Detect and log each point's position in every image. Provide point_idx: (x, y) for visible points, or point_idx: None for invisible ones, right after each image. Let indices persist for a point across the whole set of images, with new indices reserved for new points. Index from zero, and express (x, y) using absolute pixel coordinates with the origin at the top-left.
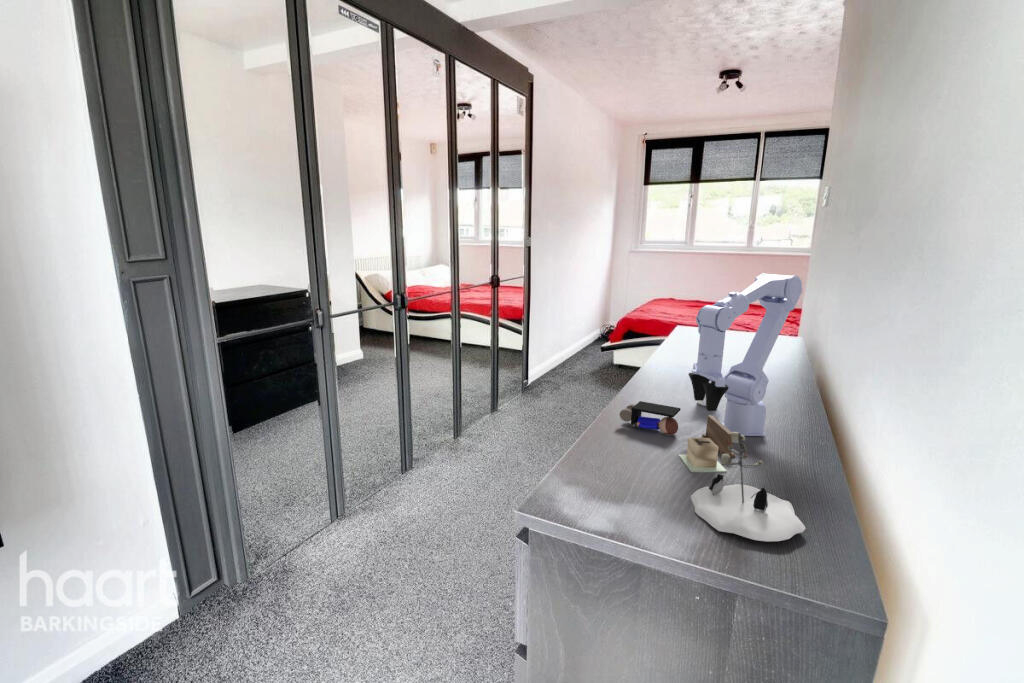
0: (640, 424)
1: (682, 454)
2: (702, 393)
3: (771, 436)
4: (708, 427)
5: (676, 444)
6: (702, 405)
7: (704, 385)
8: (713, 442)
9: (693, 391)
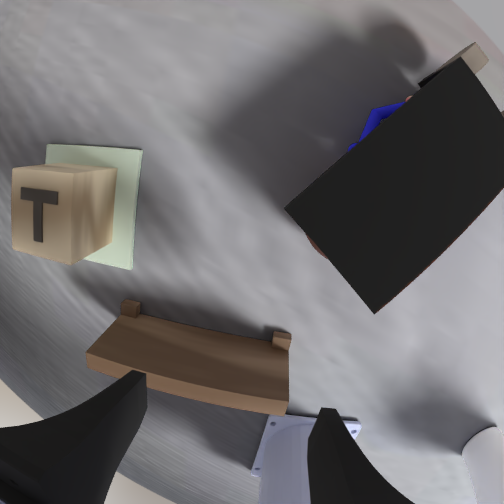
0: (401, 103)
1: (138, 165)
2: (314, 467)
3: (251, 480)
4: (269, 367)
5: (239, 193)
6: (479, 432)
7: (11, 454)
8: (39, 255)
9: (352, 441)
